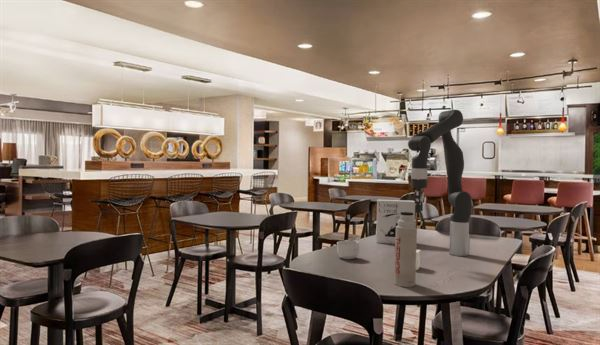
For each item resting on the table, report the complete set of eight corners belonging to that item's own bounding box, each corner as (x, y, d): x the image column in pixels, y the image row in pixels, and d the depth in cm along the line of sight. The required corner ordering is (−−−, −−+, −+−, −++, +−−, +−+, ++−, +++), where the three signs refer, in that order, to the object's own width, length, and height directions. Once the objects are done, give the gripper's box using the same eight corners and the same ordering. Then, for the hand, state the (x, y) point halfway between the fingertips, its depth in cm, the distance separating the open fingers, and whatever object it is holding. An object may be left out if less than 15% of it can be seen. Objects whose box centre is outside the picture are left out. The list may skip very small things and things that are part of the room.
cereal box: (376, 242, 266) (377, 200, 265) (376, 240, 274) (377, 199, 273) (413, 244, 262) (415, 201, 262) (412, 242, 270) (414, 200, 269)
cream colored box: (419, 266, 206) (420, 249, 206) (417, 270, 200) (418, 252, 200) (404, 265, 209) (405, 248, 209) (402, 268, 203) (402, 251, 202)
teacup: (357, 261, 215) (358, 244, 215) (335, 259, 218) (335, 243, 217) (359, 255, 229) (360, 239, 229) (338, 254, 231) (338, 238, 231)
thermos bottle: (397, 286, 172) (399, 213, 171) (391, 281, 180) (393, 210, 179) (418, 286, 173) (420, 213, 172) (411, 281, 181) (413, 211, 180)
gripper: (413, 177, 224) (413, 210, 225) (409, 178, 211) (409, 213, 212) (428, 177, 222) (428, 210, 222) (425, 178, 208) (425, 213, 209)
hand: (419, 211), depth 217 cm, fingers open, 8 cm apart
